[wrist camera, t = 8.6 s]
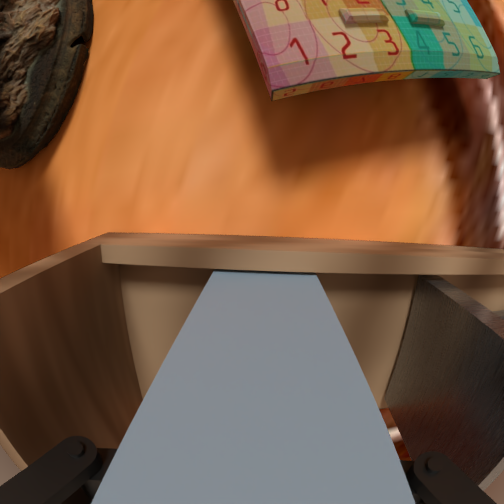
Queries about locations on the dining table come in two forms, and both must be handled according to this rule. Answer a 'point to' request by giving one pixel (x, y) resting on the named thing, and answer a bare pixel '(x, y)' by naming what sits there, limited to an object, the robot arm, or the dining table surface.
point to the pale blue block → (258, 407)
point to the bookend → (451, 380)
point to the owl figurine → (38, 71)
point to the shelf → (177, 311)
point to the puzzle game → (363, 42)
